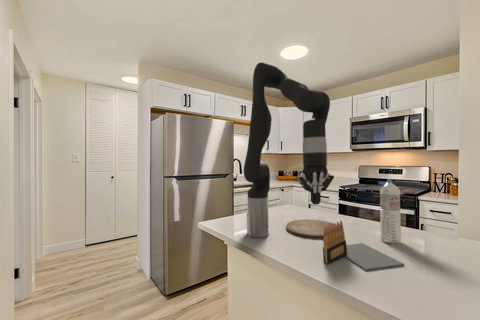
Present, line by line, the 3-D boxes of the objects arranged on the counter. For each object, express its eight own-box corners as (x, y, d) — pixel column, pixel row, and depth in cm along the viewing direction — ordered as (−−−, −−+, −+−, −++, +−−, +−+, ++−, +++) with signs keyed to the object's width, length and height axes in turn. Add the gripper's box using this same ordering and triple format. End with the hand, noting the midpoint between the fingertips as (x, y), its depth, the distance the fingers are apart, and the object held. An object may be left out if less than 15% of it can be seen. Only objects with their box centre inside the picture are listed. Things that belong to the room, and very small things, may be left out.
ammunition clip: (328, 264, 73) (325, 228, 73) (323, 262, 75) (320, 226, 75) (347, 254, 79) (344, 220, 79) (342, 252, 81) (340, 219, 81)
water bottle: (398, 239, 94) (398, 179, 94) (402, 245, 88) (401, 180, 87) (379, 237, 97) (378, 178, 96) (381, 243, 90) (380, 180, 90)
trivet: (351, 239, 97) (351, 234, 96) (291, 240, 97) (291, 235, 97) (329, 222, 122) (329, 219, 122) (282, 223, 122) (282, 219, 122)
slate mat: (365, 271, 69) (365, 269, 69) (330, 248, 87) (330, 246, 87) (404, 265, 72) (404, 263, 72) (362, 244, 90) (362, 243, 90)
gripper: (301, 151, 70) (302, 207, 70) (339, 150, 73) (340, 204, 73) (291, 152, 78) (292, 203, 78) (326, 151, 80) (327, 200, 81)
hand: (315, 203), depth 76 cm, fingers closed
